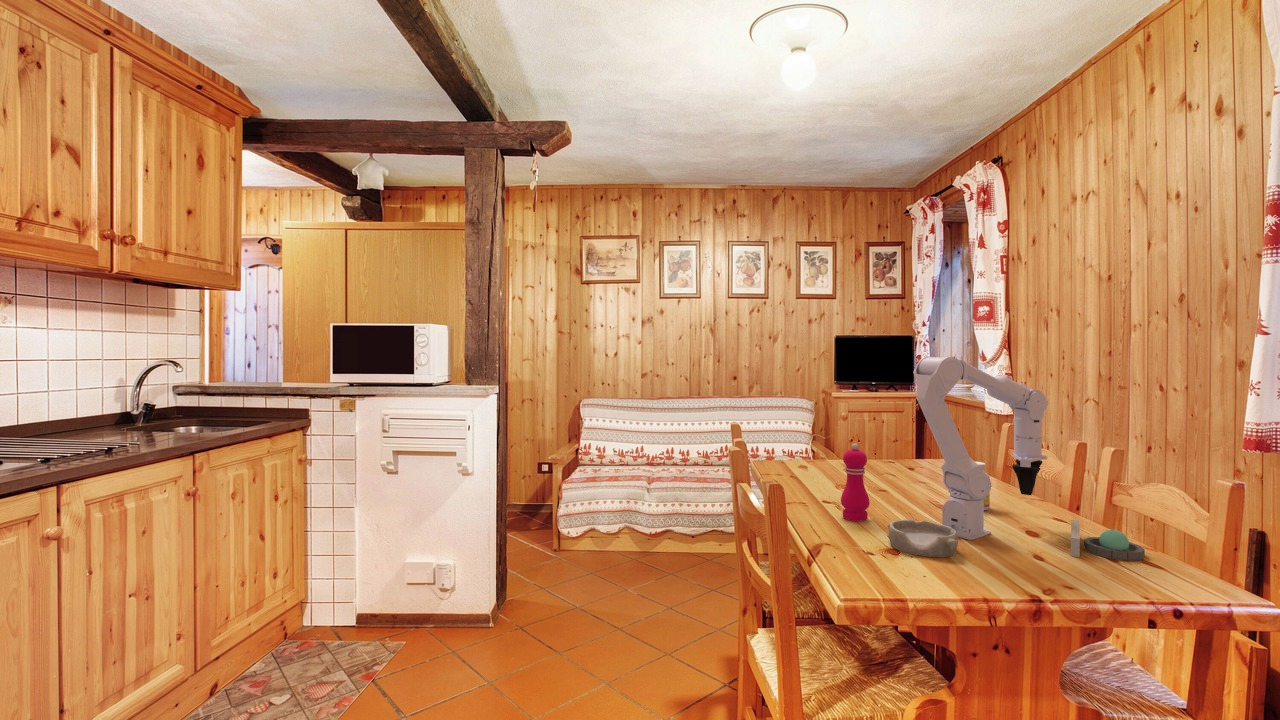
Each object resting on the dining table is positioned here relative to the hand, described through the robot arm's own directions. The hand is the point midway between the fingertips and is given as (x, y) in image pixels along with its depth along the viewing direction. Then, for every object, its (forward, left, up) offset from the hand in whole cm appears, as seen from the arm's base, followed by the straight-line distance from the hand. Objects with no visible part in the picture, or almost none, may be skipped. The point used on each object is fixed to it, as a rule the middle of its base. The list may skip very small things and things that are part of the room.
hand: (1027, 491), depth 143 cm
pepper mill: (-27, +30, -10) cm, 41 cm away
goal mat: (-3, -18, -9) cm, 21 cm away
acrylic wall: (-5, -12, -9) cm, 16 cm away
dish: (-34, +7, -10) cm, 36 cm away
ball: (-4, -19, -6) cm, 21 cm away
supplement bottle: (+9, +17, -10) cm, 22 cm away
